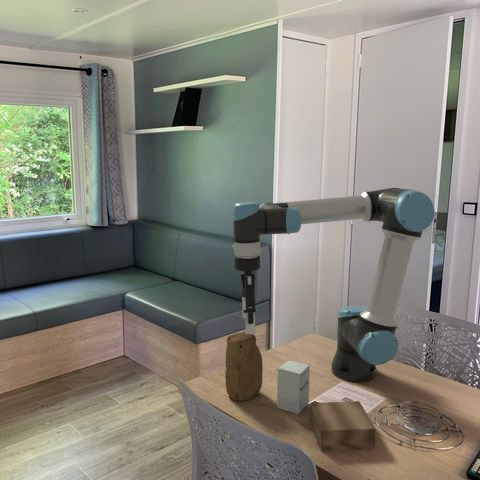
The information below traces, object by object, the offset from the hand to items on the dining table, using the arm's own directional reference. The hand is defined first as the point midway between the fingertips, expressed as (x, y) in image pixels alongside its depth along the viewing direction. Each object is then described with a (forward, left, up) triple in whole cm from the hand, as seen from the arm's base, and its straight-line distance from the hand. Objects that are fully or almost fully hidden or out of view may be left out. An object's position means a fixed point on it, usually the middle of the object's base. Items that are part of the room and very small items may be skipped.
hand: (248, 325), depth 145 cm
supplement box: (-13, +4, -24) cm, 28 cm away
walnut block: (-23, +20, -25) cm, 39 cm away
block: (+1, -4, -24) cm, 25 cm away
